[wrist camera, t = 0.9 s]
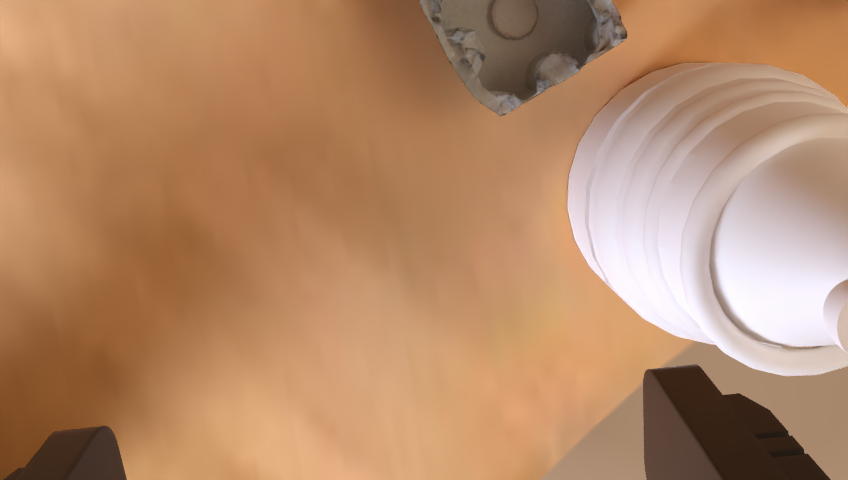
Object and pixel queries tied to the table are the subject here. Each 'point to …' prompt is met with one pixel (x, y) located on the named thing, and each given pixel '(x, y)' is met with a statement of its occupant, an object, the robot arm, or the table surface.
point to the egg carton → (521, 43)
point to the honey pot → (723, 210)
